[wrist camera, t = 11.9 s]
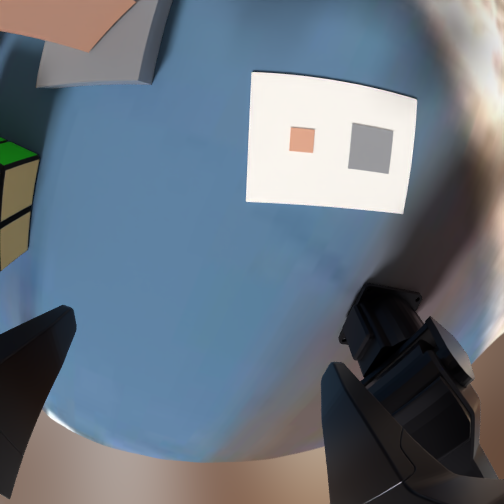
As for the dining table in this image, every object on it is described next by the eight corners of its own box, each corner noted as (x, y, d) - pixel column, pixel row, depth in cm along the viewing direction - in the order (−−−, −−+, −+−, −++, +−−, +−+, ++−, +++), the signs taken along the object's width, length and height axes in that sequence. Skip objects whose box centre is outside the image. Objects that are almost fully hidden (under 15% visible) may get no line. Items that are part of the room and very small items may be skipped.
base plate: (180, -18, 13) (170, -35, 10) (153, 85, 17) (137, 80, 14) (82, -5, 12) (64, -15, 10) (57, 88, 16) (35, 87, 13)
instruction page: (415, 99, 16) (417, 99, 16) (401, 213, 20) (403, 214, 20) (251, 72, 16) (251, 71, 16) (246, 200, 20) (246, 202, 20)
